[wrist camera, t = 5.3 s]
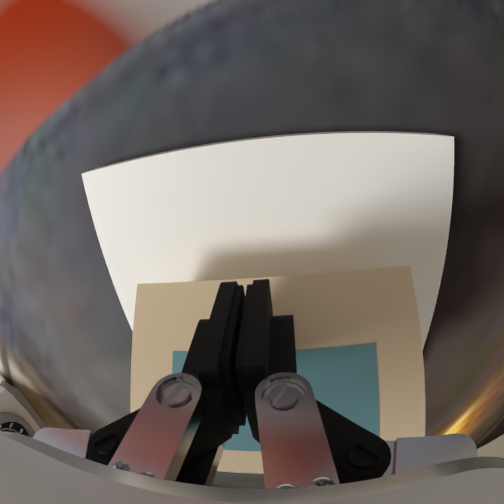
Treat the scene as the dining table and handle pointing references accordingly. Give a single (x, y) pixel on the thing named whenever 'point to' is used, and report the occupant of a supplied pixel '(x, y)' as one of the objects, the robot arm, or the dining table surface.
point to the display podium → (278, 210)
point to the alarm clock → (17, 412)
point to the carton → (305, 347)
